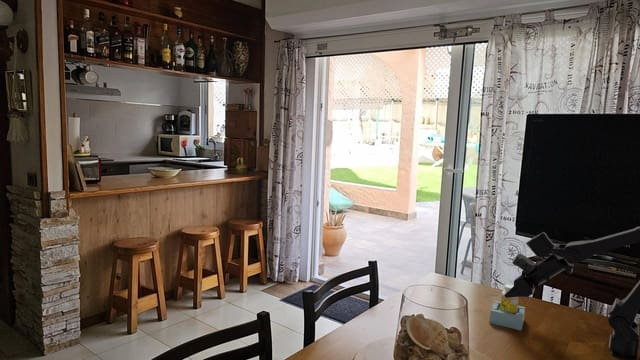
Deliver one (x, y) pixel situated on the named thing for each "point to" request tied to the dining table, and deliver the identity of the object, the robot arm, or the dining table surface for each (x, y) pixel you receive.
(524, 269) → the robot arm
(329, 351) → the dining table surface
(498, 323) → the teal tray
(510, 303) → the supplement bottle
